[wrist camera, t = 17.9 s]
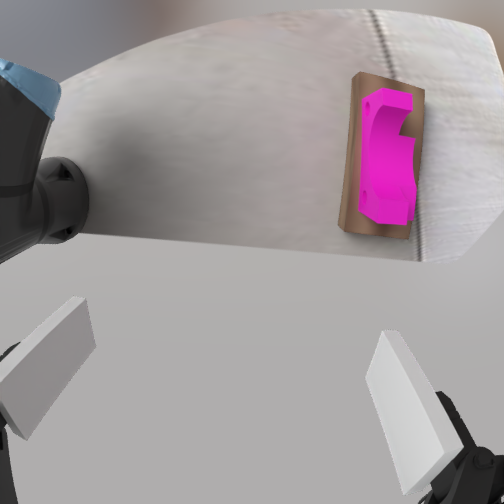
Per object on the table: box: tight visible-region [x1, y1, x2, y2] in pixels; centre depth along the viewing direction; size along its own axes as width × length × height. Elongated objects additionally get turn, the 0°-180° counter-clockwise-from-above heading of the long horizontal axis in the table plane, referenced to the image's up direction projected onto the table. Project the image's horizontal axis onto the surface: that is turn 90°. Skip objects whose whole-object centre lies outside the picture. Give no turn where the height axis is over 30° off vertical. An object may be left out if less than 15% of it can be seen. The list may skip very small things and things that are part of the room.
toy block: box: [358, 88, 417, 225], centre depth 31 cm, size 15×6×8 cm, turn 179°
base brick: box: [338, 72, 425, 239], centre depth 36 cm, size 10×22×4 cm, turn 175°
